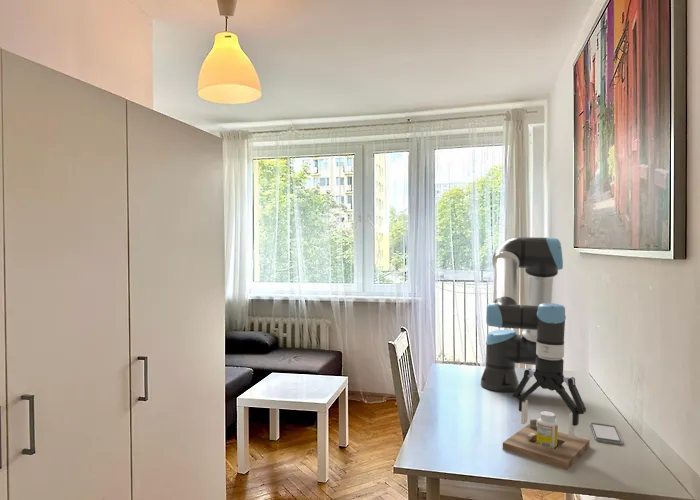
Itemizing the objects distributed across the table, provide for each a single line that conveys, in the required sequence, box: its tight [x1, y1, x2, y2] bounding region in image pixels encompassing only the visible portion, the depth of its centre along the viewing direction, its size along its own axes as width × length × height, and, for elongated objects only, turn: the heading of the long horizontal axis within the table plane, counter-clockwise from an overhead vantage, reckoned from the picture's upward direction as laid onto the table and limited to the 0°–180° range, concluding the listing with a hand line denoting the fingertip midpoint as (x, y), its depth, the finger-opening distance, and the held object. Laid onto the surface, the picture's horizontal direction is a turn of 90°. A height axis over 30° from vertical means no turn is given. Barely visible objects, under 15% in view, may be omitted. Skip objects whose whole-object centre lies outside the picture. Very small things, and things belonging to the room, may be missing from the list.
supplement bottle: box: [536, 410, 559, 449], centre depth 142 cm, size 6×6×10 cm
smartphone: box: [589, 422, 624, 446], centre depth 154 cm, size 7×1×15 cm
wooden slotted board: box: [502, 418, 591, 471], centre depth 142 cm, size 20×18×4 cm
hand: (547, 429), depth 142 cm, fingers open, 13 cm apart
